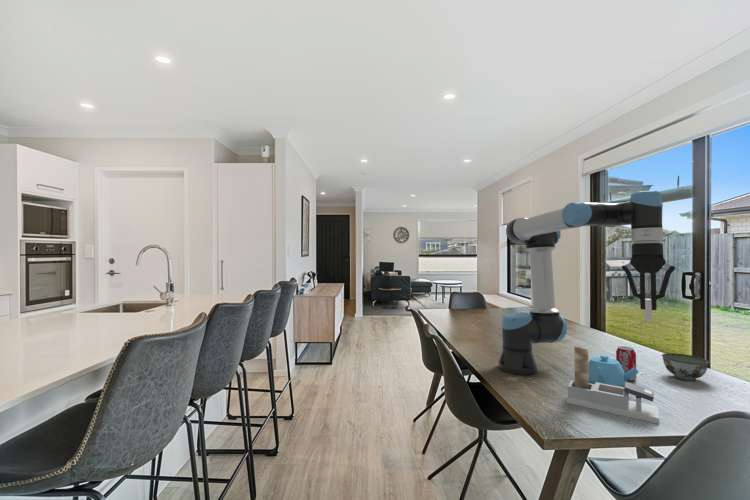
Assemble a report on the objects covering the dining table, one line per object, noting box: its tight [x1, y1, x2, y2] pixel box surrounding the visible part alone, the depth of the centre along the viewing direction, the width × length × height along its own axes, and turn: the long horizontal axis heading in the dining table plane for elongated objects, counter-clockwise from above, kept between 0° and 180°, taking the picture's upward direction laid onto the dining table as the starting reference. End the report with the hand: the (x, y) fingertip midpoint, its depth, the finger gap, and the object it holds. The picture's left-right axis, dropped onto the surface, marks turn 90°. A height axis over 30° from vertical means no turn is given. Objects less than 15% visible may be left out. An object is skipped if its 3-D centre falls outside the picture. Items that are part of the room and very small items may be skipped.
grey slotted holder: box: [566, 379, 660, 424], centre depth 109 cm, size 23×10×6 cm, turn 52°
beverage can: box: [615, 345, 637, 382], centre depth 133 cm, size 6×6×12 cm
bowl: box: [661, 352, 710, 382], centre depth 133 cm, size 14×13×8 cm
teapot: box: [588, 354, 640, 387], centre depth 125 cm, size 15×14×11 cm
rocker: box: [623, 380, 655, 402], centre depth 105 cm, size 7×6×2 cm
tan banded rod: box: [573, 345, 589, 390], centre depth 114 cm, size 4×4×16 cm
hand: (648, 320), depth 103 cm, fingers closed
